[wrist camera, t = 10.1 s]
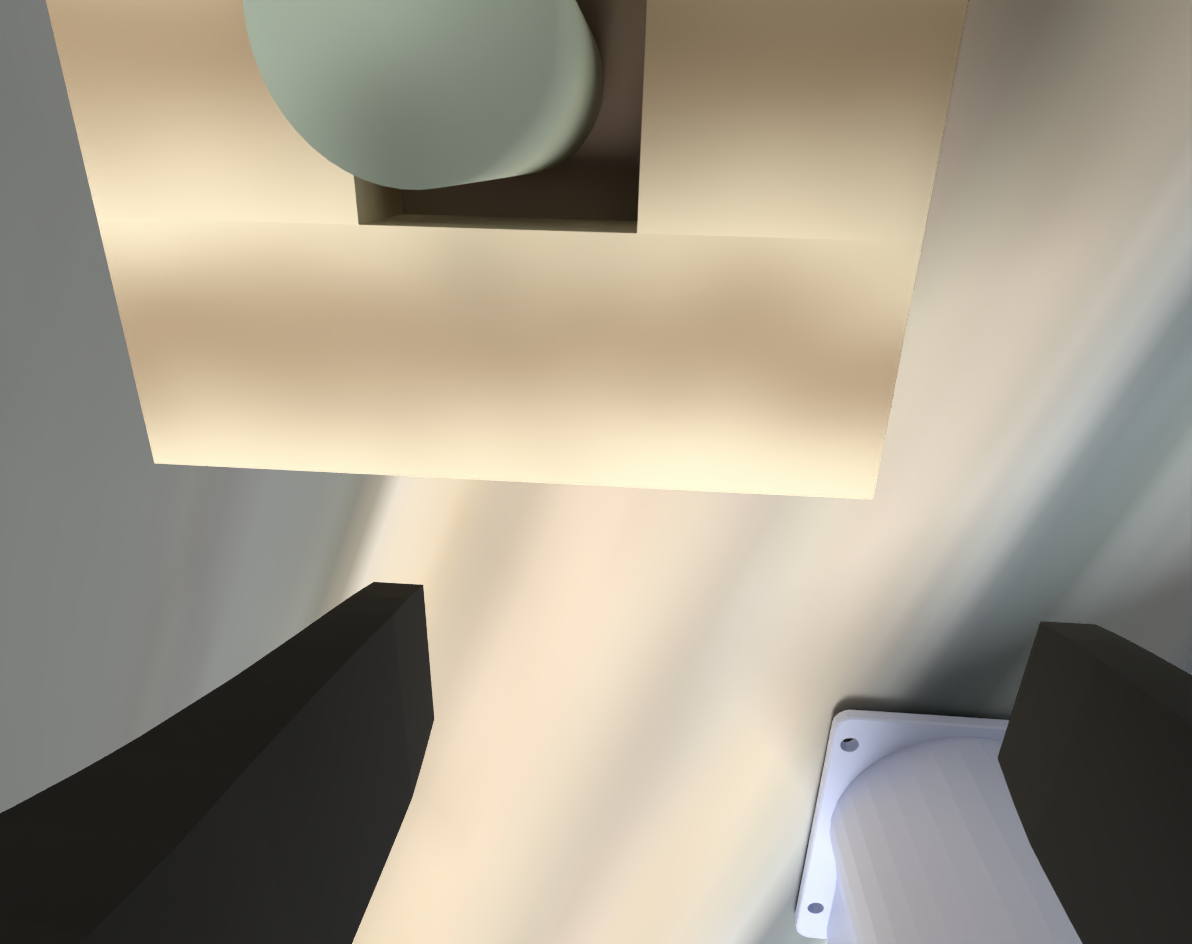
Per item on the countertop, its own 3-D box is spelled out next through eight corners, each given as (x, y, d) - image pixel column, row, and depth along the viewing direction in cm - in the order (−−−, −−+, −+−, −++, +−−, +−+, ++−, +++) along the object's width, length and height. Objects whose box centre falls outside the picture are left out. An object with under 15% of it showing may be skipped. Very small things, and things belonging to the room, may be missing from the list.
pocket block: (840, 448, 19) (873, 499, 16) (224, 419, 19) (154, 463, 17) (990, -453, 12) (1089, -630, 9) (64, -433, 13) (-93, -589, 10)
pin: (606, 170, 16) (567, 184, 9) (445, 177, 16) (279, 195, 9) (599, -23, 15) (548, -201, 7) (424, -13, 15) (207, -171, 8)
